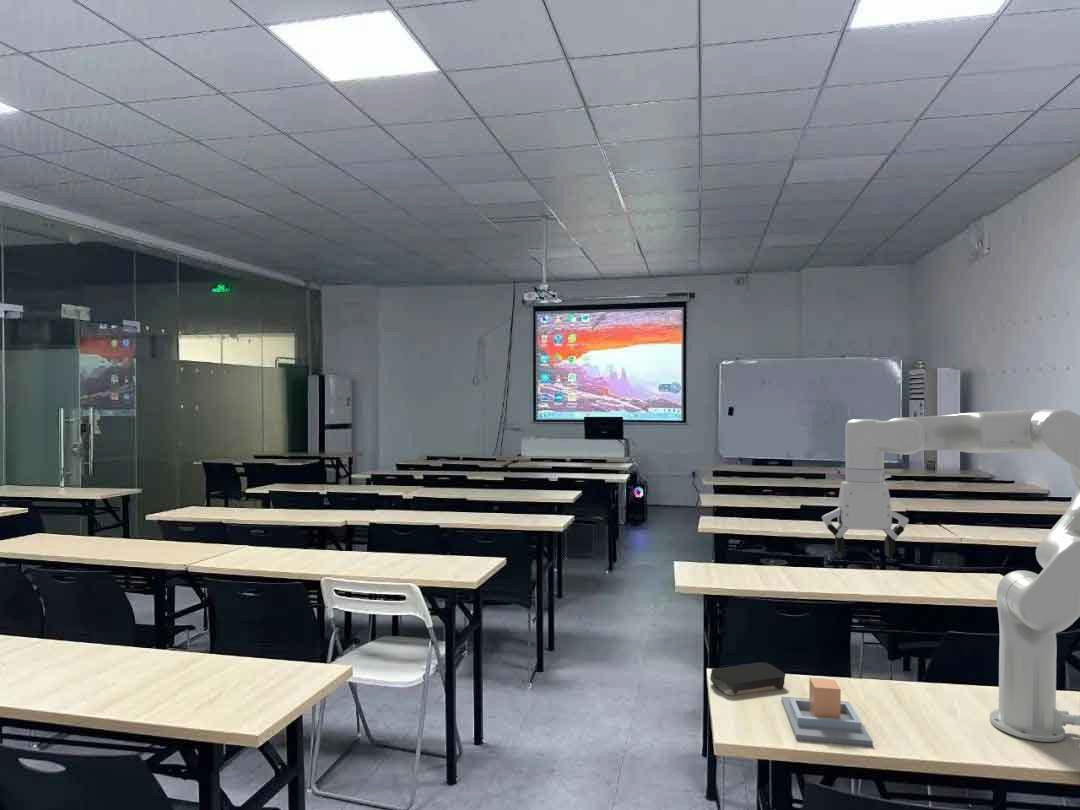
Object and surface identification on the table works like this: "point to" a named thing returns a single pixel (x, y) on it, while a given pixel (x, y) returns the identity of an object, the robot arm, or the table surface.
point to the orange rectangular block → (824, 698)
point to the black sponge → (747, 678)
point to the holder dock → (825, 724)
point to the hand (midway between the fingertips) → (864, 556)
